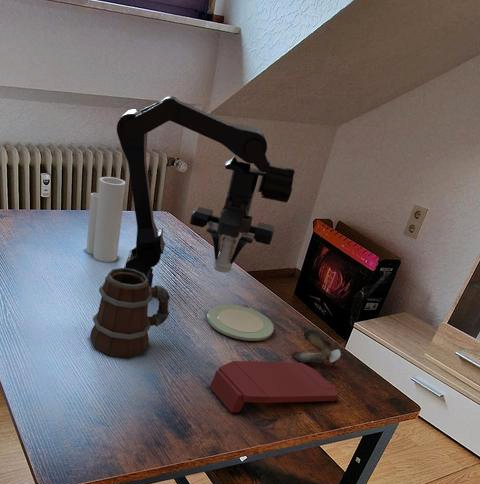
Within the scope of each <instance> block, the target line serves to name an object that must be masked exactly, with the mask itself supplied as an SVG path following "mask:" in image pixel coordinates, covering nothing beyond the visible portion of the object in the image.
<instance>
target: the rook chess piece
mask: <svg viewBox="0 0 480 484" xmlns="http://www.w3.org/2000/svg"><path fill="white" fill-rule="evenodd" d="M221 241H222V244H221V249H220V251H219V255H218V257H217V260H215V259H214V263H213V265H212V266H213V269H214V270H215V271H217V272H219V273H222V274H223V273H226V274H227V273H230V272H231V271H232V267H233V263H232V264H231V259H232V252H233V249H234V245H235V244H237V240H236V238H232V237H231V236H228V235H224V236H223V238H222V237H221Z"/></svg>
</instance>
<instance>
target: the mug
mask: <svg viewBox="0 0 480 484" xmlns="http://www.w3.org/2000/svg"><path fill="white" fill-rule="evenodd" d="M98 292H99V294H100V296H101V298H100V301H99V307H98V311H97V313H96V314H95V315H94V316H92V321H93V323H94V325H93V327H92V328H91V331H90V336H89V337H90V341H91V343H92V345H93V348H94V349H96V350H98V351H100V352H102V353H103V354H104V355H106V356H109V357H116V358H124V359H125V358H126V359H129V358H132V357H136V356H140V355H143V354H144V352H145V350H146V349H147V348H148V346H149V340H150V338H149V334H148V332H149V330H150V329H151V327H153V326H155V327H159V326H161V325H162V324H163V323H165V322H166V320H167V319H168V318H169V315H170V311H169V300H170V299H171V297H170V294H169V292H168V291H167V289H166V288H165V287H163V286H162V285H158V284H156V285H154V286H153V287H150V286H149V283H148V279H147V278H146V276H145V275H144V274H143V273H141V272H139V271H136V270H134V269H127V268H124V267H119V268H112V269H111V270H110V271H109V272H108V273H107V275H106V276H105V279H104V281H103V284H102V285H101V286H100V287H99V288H98ZM153 298H155V299H156V300H157V301H158V309H157V310H156V313H154V314H153V313H152V315H151V316H149V315H148V311H149V303H150V302H151V301H152V299H153Z"/></svg>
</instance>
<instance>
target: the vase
mask: <svg viewBox="0 0 480 484" xmlns="http://www.w3.org/2000/svg"><path fill="white" fill-rule="evenodd" d="M125 191H126V181H125V180H124V179H122V178H121V179H120V178H118V177H113V176H102V177H99V182H98V192H91V193H90V198H89V199H90V201H89V211H88V212H89V214H88V225H87V226H88V227H87V238H86V250H85V251H86V253H87V254H89V255H92V257H93V258H94V259H95V260H98V261H100V262H104V263H111V262H116V261H117V260H118V253H119V244H120V237H121V236H120V235H121V228H122V226H121V225H122V218H123V209H124V201H125V193H126V192H125Z"/></svg>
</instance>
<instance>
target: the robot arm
mask: <svg viewBox="0 0 480 484" xmlns="http://www.w3.org/2000/svg"><path fill="white" fill-rule="evenodd" d="M167 122H168V123H169V122H172V123H174V124H177V125H179V126H181V127H183V128H186V129H187V130H190V131H193V132H194V133H197V134H199V135H201V136H204V137H206V138H208V139H210V140H212V141H215V142H217V143H219V144H220V145H222V146H224V147H225V148H226V149H227V150H229V151H230V152H231V153H232V154H234V155H232V157H231V158H230V159H228V160H227V161H225V163H224V168H225V169H226V170H229V171H231V175H230V180H229V184H228V187H227V188H228V189H227V193H226V197H225V201H224V205H223V207H222V209H221V211H220V215H219V216H218V215H214V210H213V209H211V208H206V207H202V206H198V207H196V208H195V209H194V210H193V212H192V213H191V215H190V220H189V224H190V225H192V226H195V227H199V228H204V227H205V226H207V228H206V233H208V234H210V236H211V238H212V245H213V252H214V261H215V260H217V257H219V255H220V251H221V245H222V244H221V243H222V237H223V235H224V236H225V235H228V236H229V237H232V238H235V239H236V238H238V237H239V239H238V242H237V243H236V246H235V249H234V252H233V254H232V255H231V264H232V265H233V263H234V262H235V260H236V259H237V257H238V255H239V254H240V252H241V250H242V249H243V248H244V247H245V246H246V245H247V244H253V242H254V240H255V242H256V243H260V244H264V245H271V243H272V240H273V237H274V233H275V230H276V229H275V226H274V225H272V224H268V223H264V222H260V221H258V223H257V225H253V224H252V222H253V216H252V215H249V214H250V210H251V206H252V204H253V200H254V195H255V192H256V189H257V193H260V198H262V199H266V200H270V201H276V202H281V203H285V204H287V203H288V201H289V199H290V197H291V195H292V191H293V183H294V177H295V169H294V167H283V166H278V165H273V164H271V162H270V158H269V157H267V155H266V154H267V150H268V142H267V140H266V136H265V134H264V133H263V131H262V130H260V129H259V128H258V127H253V126H248V125H245V124H237V123H232V122H228V121H225V120H223V119H221V118H219V117H217V116H214V115H212V114H210V113H208V112H206V111H204V110H201V109H200V108H197V107H194V106H192V105H190V104H188V103H186V102H184V101H181V100H179V99H178V98H177V97H175V96H174V95H167V96H166V97H164V98H163V99H162V100H159V101H158V102H155V103H153V104H151V105H149V106H147V107H145V108H143V109H140V110H138V109H134V108H133V109H129V110H127V111H126V112H125V113H124V114H122V116H121V117H120V118H119V120H118V121H117V124H116V135H117V137H118V141H119V144H120V147H121V150H122V153H123V155H124V157H125V159H126V161H127V165H128V166H127V167H128V173H129V178H130V186H131V187H130V188H131V193H132V201H133V207H134V212H135V213H134V214H135V221H136V227H137V229H136V238H135V239H136V241H135V247H134V248H132V249H131V250H130V251H129V253H128V256H127V259H126V262H125V264H124V265H123V266H124V267H123V268H127V269H134V270H136V271H139V272H141V273H143V274H144V275H145V276H146V278H147V279H148V283H149V286H150V287H152V285H153V280H154V273H153V271H154V267H155V266H157V265H158V264H159V263H160V261H161V258H162V257H161V256H162V255H163V254H164V251H165V246H166V242H165V241H164V234H163V233H164V228H163V227H160V228H158V227H157V225H156V223H155V218H154V211H153V203H152V195H151V186H150V179H149V170H148V162H147V147H148V133H150V132H152V131H153V130H155V129H157V128H159V127H160V126H162V125H164V124H167ZM237 157H238V158H239V159H240V160H238V159H237ZM241 160H242V161H241ZM251 164H253V166H255V167H256V168H253V167H251ZM259 177H260V178H259ZM258 180H259V181H258ZM257 183H258V186H257ZM256 187H257V188H256ZM240 233H241V235H240Z"/></svg>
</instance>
